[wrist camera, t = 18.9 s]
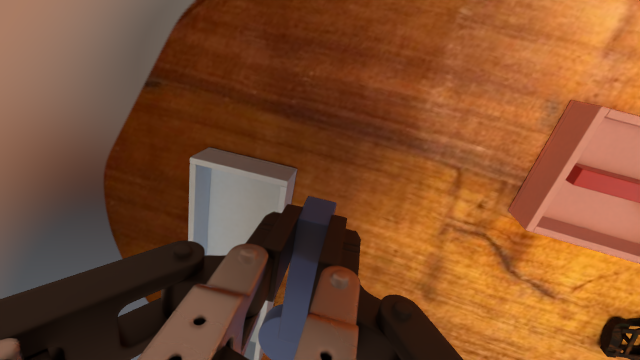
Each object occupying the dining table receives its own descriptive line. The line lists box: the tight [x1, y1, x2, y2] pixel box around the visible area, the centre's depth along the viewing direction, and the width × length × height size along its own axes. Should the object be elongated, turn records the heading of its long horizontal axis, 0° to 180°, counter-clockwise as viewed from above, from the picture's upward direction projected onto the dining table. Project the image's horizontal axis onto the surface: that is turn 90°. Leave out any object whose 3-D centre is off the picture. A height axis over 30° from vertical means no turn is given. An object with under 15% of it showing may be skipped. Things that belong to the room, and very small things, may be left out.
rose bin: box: [508, 100, 640, 264], centre depth 24 cm, size 14×10×4 cm
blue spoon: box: [258, 196, 336, 360], centre depth 15 cm, size 11×4×2 cm, turn 170°
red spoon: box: [566, 163, 640, 203], centre depth 24 cm, size 11×4×2 cm, turn 77°
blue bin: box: [188, 147, 297, 360], centre depth 33 cm, size 25×9×4 cm, turn 169°
